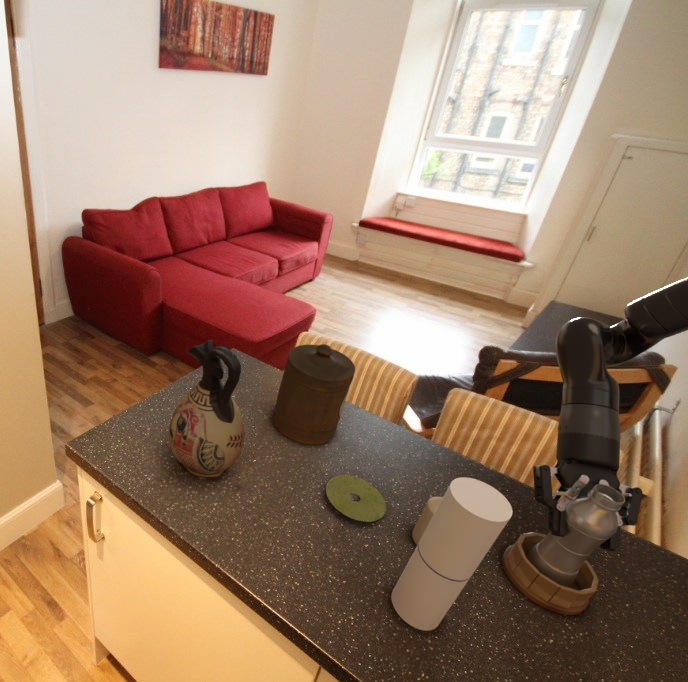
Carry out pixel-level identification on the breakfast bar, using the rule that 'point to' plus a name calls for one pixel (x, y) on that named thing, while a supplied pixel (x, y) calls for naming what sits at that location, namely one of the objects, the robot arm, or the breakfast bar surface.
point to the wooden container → (312, 393)
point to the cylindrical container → (450, 551)
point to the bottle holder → (547, 579)
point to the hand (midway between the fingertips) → (582, 542)
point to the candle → (425, 518)
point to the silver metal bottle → (578, 534)
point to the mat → (355, 498)
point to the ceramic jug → (209, 416)
